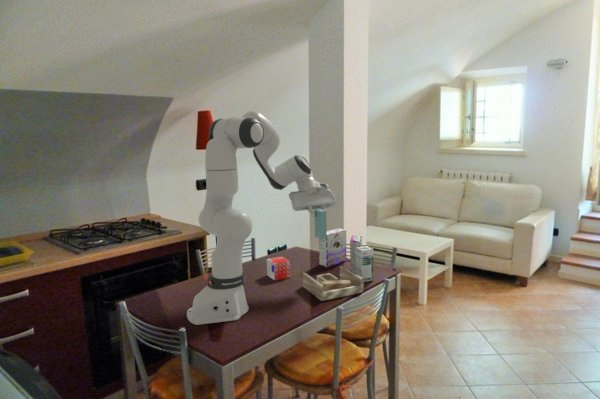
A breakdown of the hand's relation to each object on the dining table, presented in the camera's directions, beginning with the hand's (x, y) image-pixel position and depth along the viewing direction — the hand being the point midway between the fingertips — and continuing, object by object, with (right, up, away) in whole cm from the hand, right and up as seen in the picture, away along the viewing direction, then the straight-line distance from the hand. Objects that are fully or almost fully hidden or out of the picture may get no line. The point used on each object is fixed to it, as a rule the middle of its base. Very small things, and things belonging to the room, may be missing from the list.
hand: (319, 215), depth 180 cm
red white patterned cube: (-18, -28, +12) cm, 36 cm away
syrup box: (+20, -29, +5) cm, 35 cm away
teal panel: (+1, -9, +1) cm, 9 cm away
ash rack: (+5, -30, -5) cm, 31 cm away
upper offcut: (+6, -29, -8) cm, 31 cm away
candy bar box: (+18, -27, +15) cm, 36 cm away
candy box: (+8, -25, +29) cm, 39 cm away
